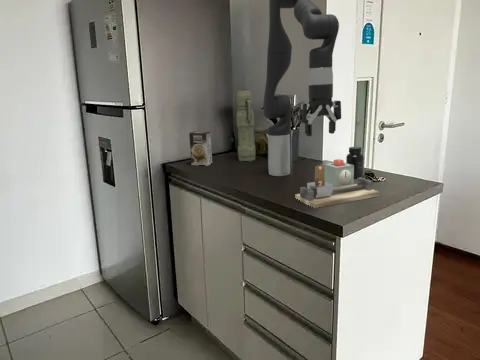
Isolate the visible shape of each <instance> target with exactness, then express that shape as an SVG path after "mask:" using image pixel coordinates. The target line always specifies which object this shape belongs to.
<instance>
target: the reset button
mask: <svg viewBox="0 0 480 360" xmlns="http://www.w3.org/2000/svg"><path fill="white" fill-rule="evenodd" d="M333 162H334V166H337V167H338V166H343V165H344V160H343V159H340V158H339V159H334V160H333Z"/></svg>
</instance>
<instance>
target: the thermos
mask: <svg viewBox="0 0 480 360" xmlns="http://www.w3.org/2000/svg"><path fill="white" fill-rule="evenodd" d="M236 107H237V108H236V109H237V112H236V116H235V117H236V127H237V138H238V139H237V143H238V145H237V157H238V161H239V162H242V161H249V162H254V161H256V154H257V153H256V145H255V132H254V131H255V130H254V128H255V113H254V110H253V109H254V108H253V93H252V91H251V90H250V89H249V88H247V89H244V88H243V89H242V88H241V89H239V90H237V94H236ZM253 160H254V161H253Z"/></svg>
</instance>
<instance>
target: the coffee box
mask: <svg viewBox="0 0 480 360" xmlns="http://www.w3.org/2000/svg"><path fill="white" fill-rule="evenodd" d="M188 135H189V138H188V139H189V150H190V164H191V166H199V165H205V167H208V166H210V165H211V163H212V164H213V155H212V154H213V153H212V136H211V135H212V133H211V131H198V130H197V131H195V130H193V131H191V132H189V133H188Z"/></svg>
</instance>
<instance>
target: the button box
mask: <svg viewBox="0 0 480 360" xmlns="http://www.w3.org/2000/svg"><path fill="white" fill-rule="evenodd" d="M322 166H325V182H327V183H329V184H332V185H333V188H334V187H340V186H346V185H352V184H355V183H354V179H355V178H354V165H351V164H348V163H346V161H345V162H344V165H343V166H338V167H337V166H334V161H333V162H328V163H323V165H322Z"/></svg>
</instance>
